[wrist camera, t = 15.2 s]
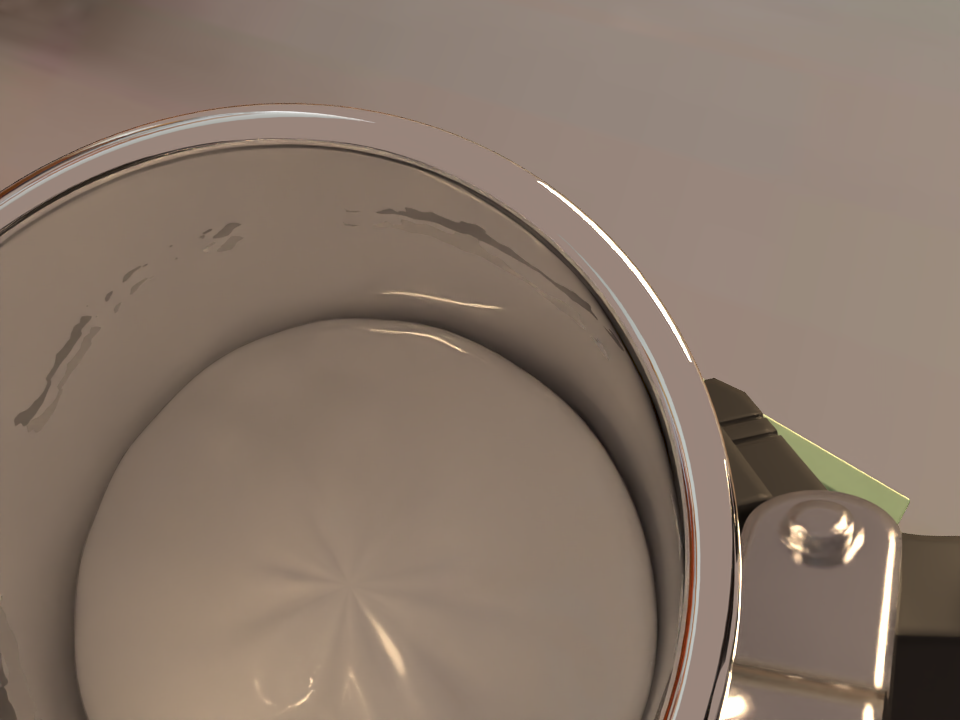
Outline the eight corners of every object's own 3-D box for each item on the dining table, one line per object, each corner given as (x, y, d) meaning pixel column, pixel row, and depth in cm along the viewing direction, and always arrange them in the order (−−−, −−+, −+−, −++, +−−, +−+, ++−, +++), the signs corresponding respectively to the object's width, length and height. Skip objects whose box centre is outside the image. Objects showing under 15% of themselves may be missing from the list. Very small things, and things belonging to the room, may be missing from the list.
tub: (432, 302, 30) (402, 203, 24) (823, 541, 27) (912, 499, 20) (111, 735, 26) (-29, 755, 20) (522, 1084, 23) (515, 1247, 16)
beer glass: (429, 884, 18) (36, 1612, 4) (238, 618, 20) (-466, 477, 6) (672, 651, 19) (1029, 577, 5) (468, 423, 21) (327, -70, 7)
